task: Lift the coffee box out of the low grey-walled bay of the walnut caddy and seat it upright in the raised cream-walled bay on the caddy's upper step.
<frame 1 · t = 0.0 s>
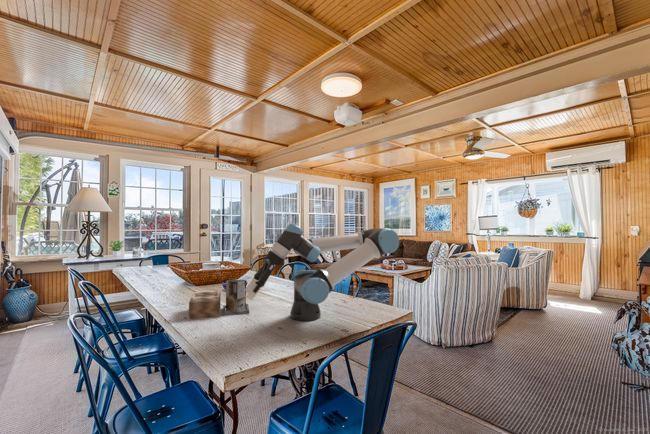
hand: (247, 295, 135), 15 cm above the table, tool tilted 35°, fingers open, 13 cm apart
walnut caddy: (222, 311, 163), on the table
coffee box: (235, 311, 165), resting in walnut caddy
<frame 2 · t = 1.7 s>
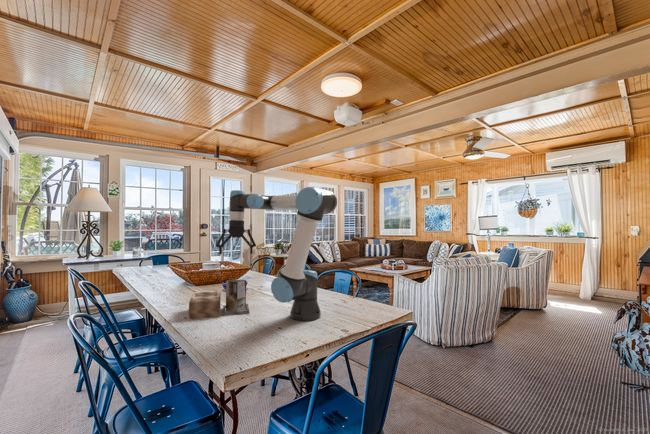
hand: (235, 260, 164), 27 cm above the table, tool pointing down, fingers open, 13 cm apart
nothing on the table moved.
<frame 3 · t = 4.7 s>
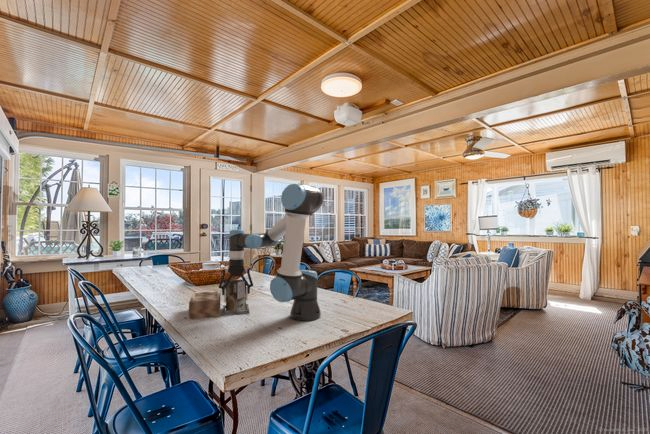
hand: (236, 300, 165), 5 cm above the table, tool pointing down, fingers closed on coffee box, 10 cm apart
coffee box: (235, 311, 165), resting in walnut caddy, touching gripper
when the fingers open (15 cm above the table, at t = 12.0 s): coffee box drops 1 cm, resting on walnut caddy.
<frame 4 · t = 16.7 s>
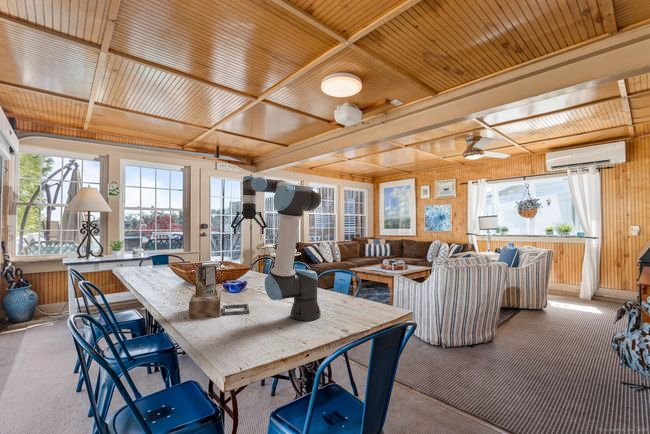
hand: (248, 240, 180), 37 cm above the table, tool pointing down, fingers open, 13 cm apart
coffee box: (205, 297, 161), point 8 cm above the table, touching walnut caddy
at the end: coffee box 0.0 cm from the target spot on the walnut caddy, point 7.8 cm above the walnut caddy's base; coffee box tilted 0°; the gripper is holding nothing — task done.
